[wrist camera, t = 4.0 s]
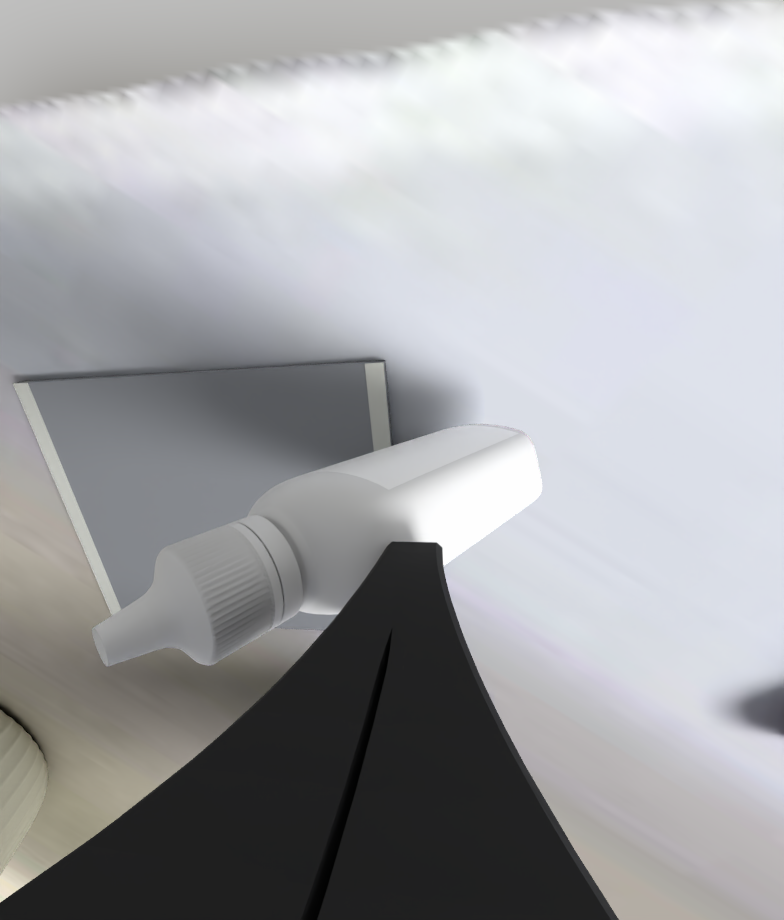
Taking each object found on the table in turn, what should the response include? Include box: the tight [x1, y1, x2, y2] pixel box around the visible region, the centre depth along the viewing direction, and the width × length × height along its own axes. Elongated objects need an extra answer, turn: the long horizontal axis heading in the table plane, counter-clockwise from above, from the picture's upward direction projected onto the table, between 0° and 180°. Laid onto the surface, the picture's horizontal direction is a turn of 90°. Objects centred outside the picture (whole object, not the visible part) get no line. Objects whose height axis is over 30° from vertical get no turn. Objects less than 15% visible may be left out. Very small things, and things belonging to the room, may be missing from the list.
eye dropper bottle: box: [92, 424, 542, 667], centre depth 12 cm, size 4×6×12 cm
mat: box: [13, 360, 393, 630], centre depth 20 cm, size 13×16×1 cm
